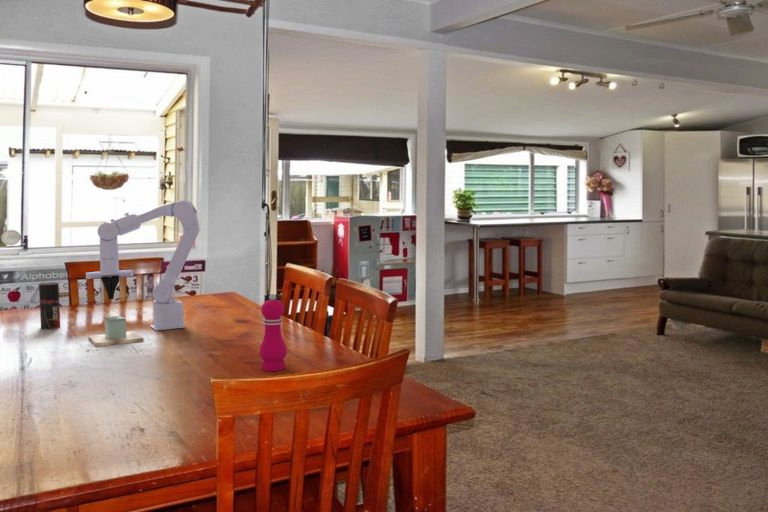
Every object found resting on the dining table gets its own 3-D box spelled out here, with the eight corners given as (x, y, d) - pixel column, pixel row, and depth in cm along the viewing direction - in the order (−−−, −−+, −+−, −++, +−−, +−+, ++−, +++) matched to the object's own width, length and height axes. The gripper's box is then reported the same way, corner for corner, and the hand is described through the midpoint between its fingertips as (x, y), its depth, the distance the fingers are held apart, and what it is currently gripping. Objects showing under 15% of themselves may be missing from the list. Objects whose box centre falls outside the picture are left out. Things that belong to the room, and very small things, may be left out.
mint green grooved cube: (122, 334, 217) (121, 315, 216) (126, 337, 212) (125, 318, 212) (105, 336, 214) (104, 317, 213) (108, 339, 209) (108, 320, 209)
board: (134, 334, 222) (134, 317, 221) (143, 341, 212) (142, 323, 211) (88, 338, 214) (87, 321, 214) (95, 346, 204) (94, 328, 204)
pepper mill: (272, 363, 186) (272, 291, 184) (292, 367, 182) (292, 293, 180) (253, 369, 180) (252, 294, 178) (273, 373, 176) (272, 297, 174)
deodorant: (52, 329, 228) (50, 285, 226) (36, 328, 229) (34, 284, 227) (64, 326, 233) (62, 282, 232) (48, 325, 235) (46, 282, 233)
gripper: (129, 256, 233) (130, 295, 235) (83, 258, 225) (85, 298, 227) (134, 258, 227) (135, 298, 229) (87, 260, 220) (88, 302, 221)
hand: (110, 298), depth 227 cm, fingers closed
